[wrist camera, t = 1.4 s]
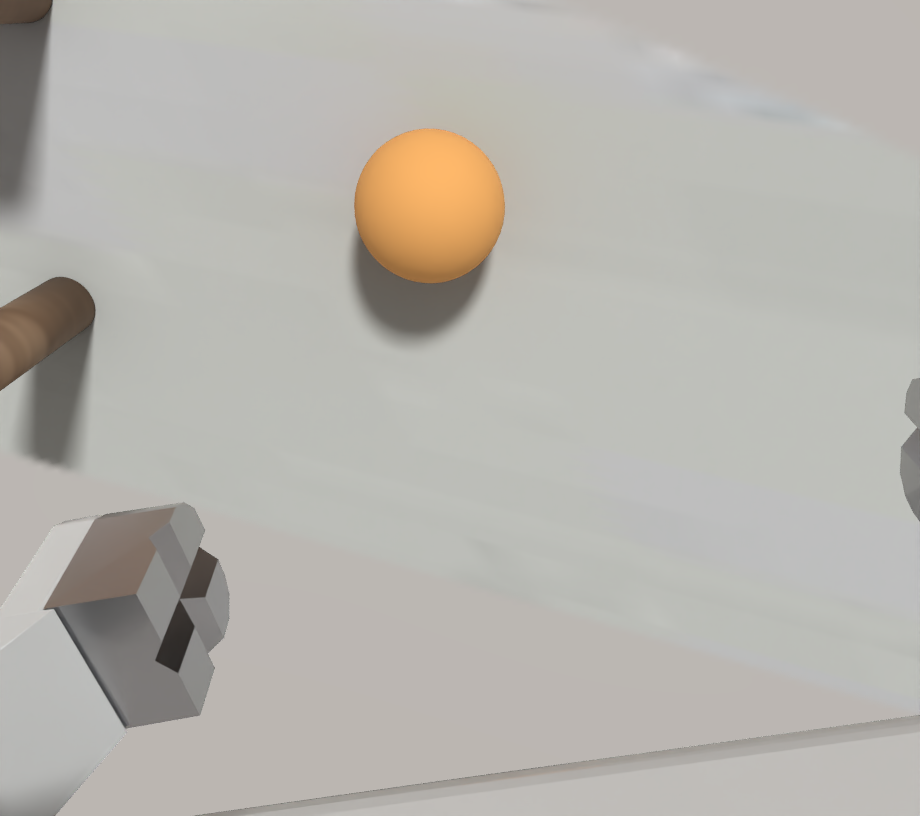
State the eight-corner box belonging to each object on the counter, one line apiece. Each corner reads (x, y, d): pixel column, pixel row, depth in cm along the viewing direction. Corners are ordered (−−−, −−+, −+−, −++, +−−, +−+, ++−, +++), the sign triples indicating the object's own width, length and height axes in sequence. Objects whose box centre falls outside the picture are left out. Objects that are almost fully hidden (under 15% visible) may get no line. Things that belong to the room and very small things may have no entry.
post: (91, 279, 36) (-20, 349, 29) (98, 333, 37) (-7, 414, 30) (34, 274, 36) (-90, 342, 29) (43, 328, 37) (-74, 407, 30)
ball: (513, 125, 32) (509, 148, 27) (500, 265, 34) (494, 310, 29) (370, 113, 32) (340, 134, 27) (367, 253, 35) (339, 296, 30)
